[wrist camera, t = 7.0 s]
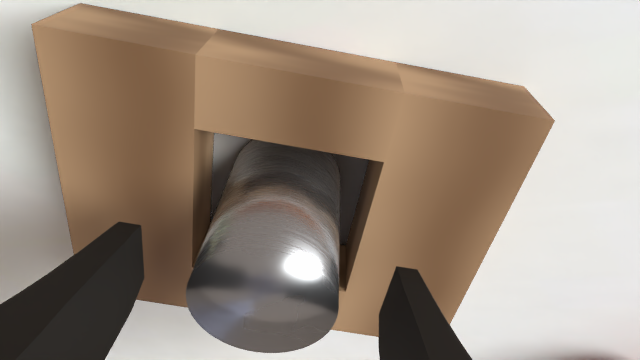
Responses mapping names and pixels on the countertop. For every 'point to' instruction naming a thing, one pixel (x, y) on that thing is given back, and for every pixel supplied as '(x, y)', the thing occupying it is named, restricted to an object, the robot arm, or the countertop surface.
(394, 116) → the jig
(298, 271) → the brushed metal cylinder
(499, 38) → the countertop surface
